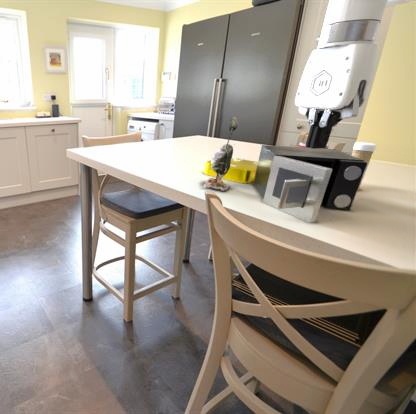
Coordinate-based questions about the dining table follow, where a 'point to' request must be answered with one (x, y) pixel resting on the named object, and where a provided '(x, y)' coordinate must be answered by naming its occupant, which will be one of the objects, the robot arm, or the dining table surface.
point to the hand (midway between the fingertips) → (315, 147)
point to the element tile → (236, 170)
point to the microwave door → (296, 187)
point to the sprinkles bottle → (363, 153)
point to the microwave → (336, 160)
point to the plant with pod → (222, 161)
